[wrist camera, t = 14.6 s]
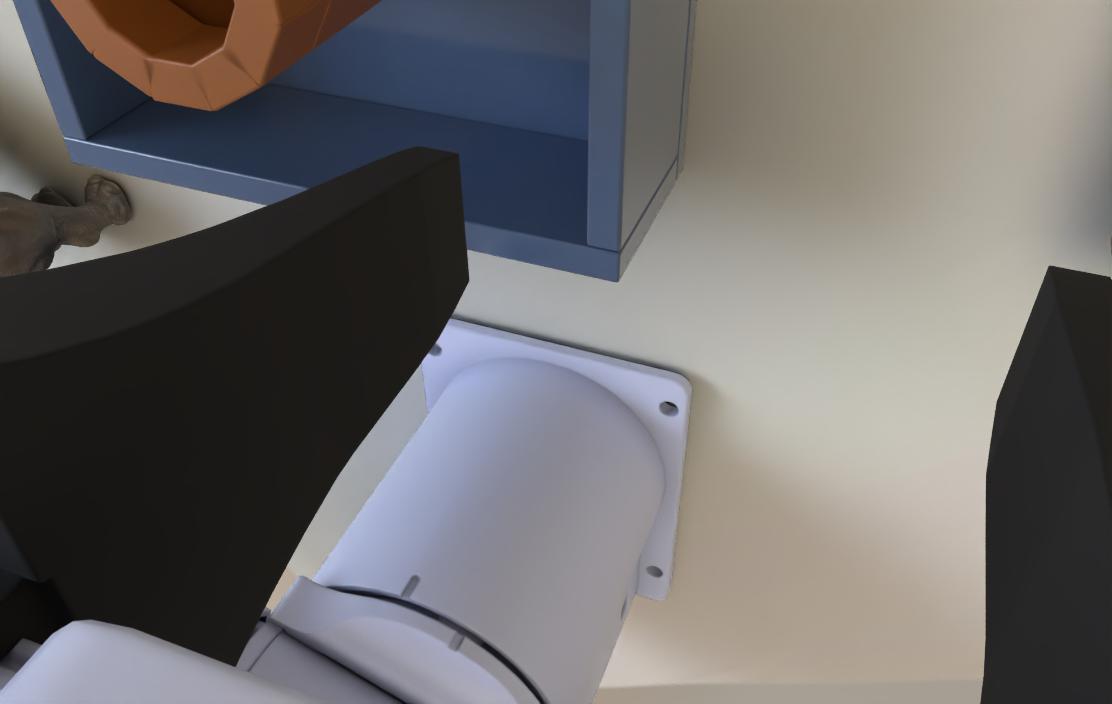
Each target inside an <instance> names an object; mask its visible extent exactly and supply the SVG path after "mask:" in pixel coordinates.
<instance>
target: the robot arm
mask: <svg viewBox="0 0 1112 704" xmlns="http://www.w3.org/2000/svg"><path fill="white" fill-rule="evenodd" d="M468 282H469V270H468V258H467V246H466V233H465V221H464V209H463V197H462V184H461V172H460V160H459V153H454V152H449V151H444V150H438V149H433V148H428V147H423V146H415V147H411V148H408V149H405V150H402V151H399V152H396V153H393V154H391V155H388V156H386V157H383V158H381V159H378V160H376V161H373V162H371V163H368V164H366V165H364V166H361V167H359V168H357V169H354V170H352V171H350V172H347V173H345V174H343V175H340V176H338V177H336V178H333V179H331V180H329V181H326V182H324V183H322V184H319V185H317V186H314V187H312V188H310V189H307V190H305V191H303V192H300V193H298V194H296V195H293V196H291V197H289V198H286V199H284V200H281V201H279V202H276V203H273V204H271V205H268V206H266V207H263V208H260V209H258V210H255V211H253V212H250V213H247V214H245V215H242V216H240V217H237V218H234V219H232V220H229V221H227V222H224V223H221V224H219V225H216V226H213V227H210V228H207V229H204V230H201V231H198V232H195V233H192V234H189V235H186V236H183V237H179V238H176V239H172V240H169V241H166V242H162V243H159V244H155V245H152V246H148V247H145V248H141V249H137V250H134V251H130V252H126V253H121V254H117V255H112V256H108V257H103V258H99V259H94V260H89V261H85V262H80V263H76V264H71V265H67V266H62V267H58V268H53V269H47V270H42V271H36V272H30V273H23V274H17V275H11V276H5V277H0V704H592V703H593V700H594V697H595V695H596V692H597V690H598V687H599V685H600V682H601V680H602V677H603V675H604V672H605V670H606V667H607V665H608V662H609V660H610V657H611V654H612V652H613V649H614V647H615V644H616V642H617V639H618V637H619V634H620V632H621V629H622V627H623V624H624V621H625V619H626V616H627V614H628V611H629V609H630V606H631V604H632V601H633V599H634V596H635V594H636V595H639V596H642V597H645V598H649V599H652V600H664V599H666V598H667V596H668V594H669V591H670V588H671V582H672V573H673V564H674V554H675V545H676V536H677V527H678V518H679V508H680V499H681V490H682V481H683V472H684V462H685V453H686V444H687V435H688V426H689V416H690V407H691V398H692V386H691V384H690V383H689V381H688V380H687V379H686V378H685V377H683V376H682V375H679V374H677V373H674V372H670V371H666V370H661V369H657V368H653V367H649V366H645V365H641V364H637V363H633V362H629V361H624V360H620V359H616V358H612V357H608V356H604V355H600V354H596V353H591V352H587V351H583V350H579V349H575V348H571V347H567V346H563V345H559V344H554V343H550V342H546V341H542V340H538V339H534V338H530V337H526V336H522V335H517V334H513V333H509V332H505V331H501V330H497V329H493V328H489V327H484V326H480V325H476V324H472V323H468V322H464V321H460V320H456V319H452V318H450V317H451V316H452V314H453V312H454V310H455V308H456V306H457V304H458V302H459V300H460V298H461V296H462V294H463V292H464V290H465V288H466V286H467V284H468ZM435 343H436V344H438V345H439V346H440V347H441V348H439V347H437V346H436V345H435ZM420 364H421V365H422V373H423V380H424V388H425V396H426V404H427V411H428V415H427V416H426V418H425V419H424V421H423V422H422V423H421V425H420V426H419V428H418V429H417V431H416V432H415V433H414V435H413V436H412V438H411V439H410V441H409V442H408V443H407V445H406V446H405V448H404V449H403V451H402V452H401V453H400V455H399V456H398V458H397V459H396V461H395V462H394V463H393V465H392V466H391V468H390V469H389V471H388V472H387V473H386V475H385V476H384V478H383V479H382V480H381V482H380V483H379V485H378V486H377V488H376V489H375V490H374V492H373V493H372V495H371V496H370V498H369V499H368V500H367V502H366V503H365V505H364V506H363V508H362V509H361V510H360V512H359V513H358V515H357V516H356V518H355V519H354V520H353V522H352V523H351V525H350V526H349V528H348V529H347V530H346V532H345V533H344V535H343V536H342V537H341V539H340V540H339V542H338V543H337V545H336V546H335V547H334V549H333V550H332V552H331V553H330V555H329V556H328V557H327V559H326V560H325V562H324V563H323V565H322V566H321V567H320V569H319V570H318V572H317V573H316V575H315V576H314V577H313V579H312V580H310V579H308V578H306V577H304V576H298V577H297V579H296V580H295V581H294V583H293V584H292V586H291V587H290V588H289V590H288V591H287V593H286V594H285V595H284V597H283V598H282V600H281V601H280V602H279V604H278V605H277V607H276V608H275V609H274V611H273V612H272V614H271V615H270V613H271V610H270V609H268V608H267V607H266V604H267V602H268V601H269V598H270V596H271V594H272V592H273V591H274V589H275V587H276V585H277V583H278V581H279V580H280V578H281V576H282V574H283V572H284V570H285V568H286V567H287V565H288V563H289V561H290V559H291V557H292V555H293V554H294V552H295V550H296V548H297V546H298V544H299V542H300V541H301V539H302V537H303V535H304V533H305V532H306V530H307V528H308V526H309V525H310V523H311V521H312V520H313V518H314V516H315V514H316V513H317V511H318V509H319V507H320V506H321V504H322V502H323V501H324V499H325V497H326V495H327V494H328V492H329V490H330V489H331V487H332V485H333V483H334V482H335V480H336V478H337V477H338V475H339V474H340V472H341V471H342V470H343V468H344V467H345V465H346V464H347V462H348V461H349V459H350V458H351V456H352V455H353V453H354V452H355V451H356V449H357V448H358V447H359V445H360V444H361V443H362V441H363V440H364V439H365V437H366V436H367V435H368V433H369V432H370V431H371V429H372V428H373V427H374V425H375V424H376V423H377V421H378V420H379V419H380V417H381V416H382V415H383V413H384V412H385V411H386V409H387V408H388V407H389V405H390V404H391V403H392V401H393V400H394V399H395V397H396V396H397V395H398V393H399V392H400V391H401V389H402V388H403V387H404V385H405V384H406V383H407V381H408V380H409V379H410V377H411V376H412V375H413V373H414V372H415V371H416V369H417V368H418V366H419V365H420ZM666 402H671V403H674V404H675V405H676V406H677V407H672V406H670V405H668V404H667V403H666ZM980 704H1112V280H1111V278H1110V277H1107V276H1102V275H1097V274H1092V273H1086V272H1081V271H1076V270H1070V269H1065V268H1060V267H1055V266H1049V267H1048V270H1047V272H1046V275H1045V277H1044V280H1043V283H1042V285H1041V288H1040V290H1039V293H1038V296H1037V298H1036V301H1035V303H1034V306H1033V309H1032V311H1031V314H1030V317H1029V319H1028V322H1027V324H1026V327H1025V330H1024V332H1023V335H1022V337H1021V340H1020V343H1019V345H1018V348H1017V350H1016V353H1015V356H1014V358H1013V361H1012V364H1011V366H1010V369H1009V371H1008V374H1007V377H1006V379H1005V382H1004V384H1003V387H1002V390H1001V392H1000V395H999V397H998V400H997V404H996V411H995V417H994V424H993V430H992V437H991V443H990V451H989V458H988V465H987V472H986V641H985V661H984V677H983V686H982V695H981V703H980Z"/></svg>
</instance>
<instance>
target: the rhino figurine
mask: <svg viewBox="0 0 1112 704" xmlns="http://www.w3.org/2000/svg"><path fill="white" fill-rule="evenodd" d="M129 219H130V207H129V204H128V202H127V200H126V197H125V195H124V193H123V192H122V190H121V189H120V188H119V187H118V186H117V185H116V184H115V183H113V182H111V181H107V180H105V179H103V178H102V177H101V176H98V175H93V176H91V177H90V178H89V179H88V182H87V185H86V187H85V204H83V205H82V206H79V207H73V206H72V205H71V204H70V203H69V202H67V201H66V200H65V199H64V198H62V197H61V196H60V195H58V194H57V193H56V192H54V191H53V190H52V189H51V188H48V187H44V188H41V190H40V191H39V193H37V194H35V195H33V197H32V198H31V201H30V200H28V199H25V198H23V197H21V196H18V195H15V194H12V193H8V192H0V277H5V276H11V275H17V274H23V273H30V272H36V271H42V270H46V269H48V268H49V267H50V265H51V263H52V261H53V258H54V252H55V251H56V250H58V249H59V248H60V247H61V245H73V246H79V247H90V246H93V245H94V244H96V243H97V242H98V241H99V238H100V233H101V231H102V230H103V229H104V228H105V227H107V226H109V225H112V224H115V225H123V224H126V223H127V222H128V221H129Z"/></svg>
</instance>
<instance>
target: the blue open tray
mask: <svg viewBox="0 0 1112 704" xmlns="http://www.w3.org/2000/svg"><path fill="white" fill-rule="evenodd" d="M13 2H14V5H15V8H16V10H17V13H18V16H19V19H20V21H21V24H22V27H23V29H24V32H25V35H26V38H27V40H28V43H29V46H30V48H31V51H32V54H33V57H34V59H35V62H36V65H37V67H38V70H39V73H40V76H41V78H42V81H43V84H44V86H45V89H46V92H47V95H48V97H49V100H50V103H51V106H52V108H53V111H54V114H55V116H56V119H57V122H58V125H59V127H60V130H61V133H62V134H63V135H64V137H63V139H64V141H65V144H66V147H67V150H68V152H69V155H70V158H71V161H72V162H73V163H76V164H80V165H85V166H89V167H94V168H98V169H103V170H108V171H112V172H117V173H121V174H126V175H130V176H135V177H139V178H144V179H148V180H153V181H158V182H162V183H167V184H171V185H176V186H180V187H185V188H189V189H194V190H199V191H203V192H208V193H212V194H217V195H221V196H226V197H230V198H235V199H239V200H244V201H249V202H253V203H258V204H262V205H267V206H268V205H271V204H273V203H276V202H279V201H281V200H284V199H286V198H289V197H291V196H293V195H296V194H298V193H300V192H303V191H305V190H307V189H310V188H312V187H314V186H317V185H319V184H322V183H324V182H326V181H329V180H331V179H333V178H336V177H338V176H340V175H343V174H345V173H347V172H350V171H352V170H354V169H357V168H359V167H361V166H364V165H366V164H368V163H371V162H373V161H376V160H378V159H381V158H383V157H386V156H388V155H391V154H393V153H396V152H399V151H402V150H405V149H408V148H411V147H415V146H423V147H428V148H433V149H438V150H444V151H449V152H454V153H459V160H460V172H461V184H462V197H463V209H464V221H465V233H466V246H467V250H471V251H476V252H480V253H485V254H490V255H494V256H499V257H503V258H508V259H512V260H517V261H521V262H526V263H530V264H535V265H540V266H544V267H549V268H553V269H558V270H562V271H567V272H571V273H576V274H581V275H585V276H590V277H594V278H599V279H603V280H608V281H612V282H619V280H620V279H621V277H622V275H623V273H624V272H625V270H626V268H627V266H628V265H629V263H630V261H631V259H632V258H633V256H634V254H635V253H636V251H637V249H638V247H639V246H640V244H641V242H642V240H643V239H644V237H645V235H646V233H647V232H648V230H649V228H650V226H651V225H652V223H653V221H654V219H655V218H656V216H657V214H658V213H659V211H660V209H661V207H662V206H663V204H664V202H665V200H666V199H667V197H668V195H669V193H670V192H671V190H672V188H673V186H674V185H675V182H676V181H677V179H678V177H679V175H680V174H681V172H682V170H683V159H684V147H685V135H686V123H687V111H688V99H689V87H690V75H691V63H692V51H693V39H694V27H695V15H696V3H697V0H382V1H381V2H379V3H378V4H376V5H375V6H374V7H372V8H371V9H369V10H368V11H367V12H365V13H364V14H362V15H361V16H360V17H358V18H357V19H356V20H354V21H353V22H351V23H350V24H349V25H347V26H346V27H344V28H343V29H342V30H340V31H339V32H337V33H336V34H335V35H333V36H332V37H331V38H329V39H328V40H326V41H325V42H324V43H322V44H321V45H319V46H318V47H317V48H315V49H314V50H312V51H311V52H309V53H308V54H307V55H305V56H304V57H303V58H301V59H300V60H298V61H297V62H296V63H294V64H293V65H291V66H290V67H289V68H287V69H286V70H285V71H283V72H282V73H280V74H279V75H278V76H276V77H275V78H273V79H272V80H271V81H269V82H268V83H266V84H265V85H264V86H262V87H261V88H259V89H257V90H255V91H253V92H252V93H250V94H248V95H246V96H244V97H242V98H240V99H238V100H237V101H235V102H233V103H231V104H229V105H227V106H225V107H223V108H221V109H220V110H217V111H207V110H202V109H197V108H192V107H186V106H181V105H176V104H171V103H165V102H160V101H155V100H154V99H153V97H150V96H148V95H147V94H145V93H144V92H143V91H141V90H140V89H138V88H137V87H135V86H134V85H133V84H131V83H130V82H128V81H127V80H126V79H124V78H123V77H121V76H120V75H119V74H117V73H116V72H114V71H113V70H112V69H110V68H109V67H107V66H106V65H105V64H103V63H102V62H100V61H99V60H98V59H96V58H95V56H94V54H93V53H92V54H91V53H90V52H88V50H87V49H86V48H85V46H84V45H83V43H82V42H81V41H80V39H79V38H78V37H77V35H76V34H75V33H74V31H73V30H72V29H71V27H70V26H69V25H68V23H67V22H66V21H65V19H64V18H63V17H62V15H61V14H60V13H59V11H58V10H57V9H56V7H55V6H54V5H53V3H52V2H51V1H50V0H13Z"/></svg>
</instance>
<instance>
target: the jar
mask: <svg viewBox="0 0 1112 704" xmlns="http://www.w3.org/2000/svg"><path fill="white" fill-rule="evenodd" d="M50 1H51V2H52V3H53V5H54V6H55V7H56V9H57V10H58V11H59V13H60V14H61V15H62V17H63V18H64V19H65V21H66V22H67V23H68V25H69V26H70V27H71V29H72V30H73V31H74V33H75V34H76V35H77V37H78V38H79V39H80V41H81V42H82V43H83V45H84V46H85V48H86V49H87V50H88V52H90V53H91V54H92V53H93V54H94V56H95V58H96V59H98V60H99V61H100V62H102V63H103V64H105V65H106V66H107V67H109V68H110V69H112V70H113V71H114V72H116V73H117V74H119V75H120V76H121V77H123V78H124V79H126V80H127V81H128V82H130V83H131V84H133V85H134V86H135V87H137V88H138V89H140V90H141V91H143V92H144V93H145V94H147V95H148V96H150V97H153V99H154V100H155V101H160V102H165V103H171V104H176V105H181V106H186V107H192V108H197V109H202V110H207V111H217V110H220V109H221V108H223V107H225V106H227V105H229V104H231V103H233V102H235V101H237V100H238V99H240V98H242V97H244V96H246V95H248V94H250V93H252V92H253V91H255V90H257V89H259V88H261V87H262V86H264V85H265V84H266V83H268V82H269V81H271V80H272V79H273V78H275V77H276V76H278V75H279V74H280V73H282V72H283V71H285V70H286V69H287V68H289V67H290V66H291V65H293V64H294V63H296V62H297V61H298V60H300V59H301V58H303V57H304V56H305V55H307V54H308V53H309V52H311V51H312V50H314V49H315V48H317V47H318V46H319V45H321V44H322V43H324V42H325V41H326V40H328V39H329V38H331V37H332V36H333V35H335V34H336V33H337V32H339V31H340V30H342V29H343V28H344V27H346V26H347V25H349V24H350V23H351V22H353V21H354V20H356V19H357V18H358V17H360V16H361V15H362V14H364V13H365V12H367V11H368V10H369V9H371V8H372V7H374V6H375V5H376V4H378V3H379V2H381V1H382V0H50Z"/></svg>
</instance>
